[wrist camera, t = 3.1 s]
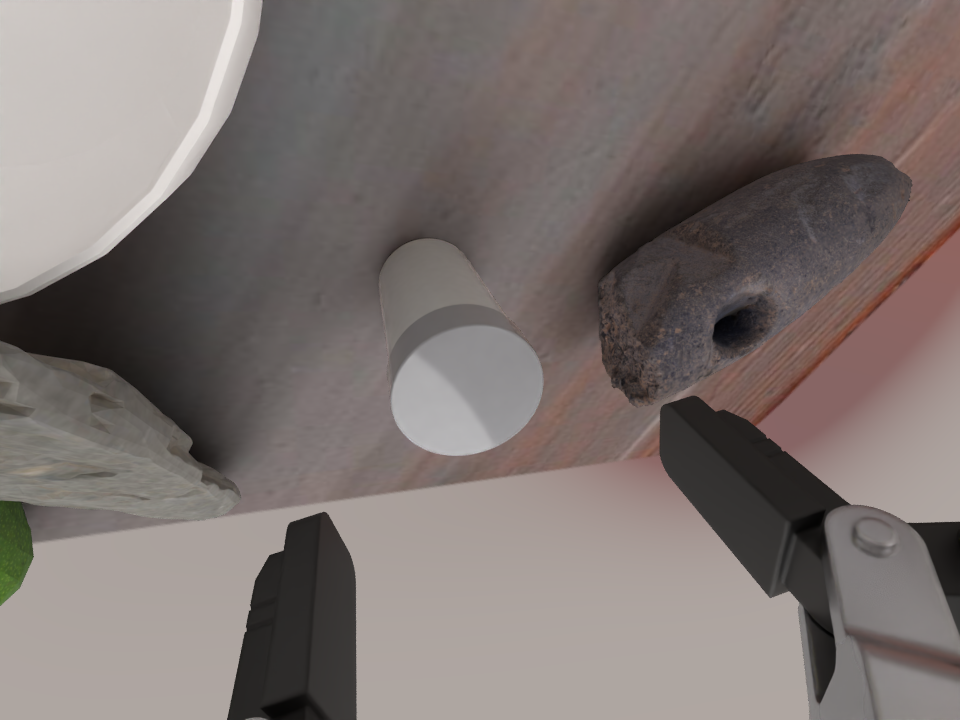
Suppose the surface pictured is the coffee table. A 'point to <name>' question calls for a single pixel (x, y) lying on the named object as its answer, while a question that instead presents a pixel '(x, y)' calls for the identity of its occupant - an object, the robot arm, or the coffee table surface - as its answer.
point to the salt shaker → (453, 353)
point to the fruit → (13, 548)
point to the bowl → (105, 119)
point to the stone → (96, 444)
